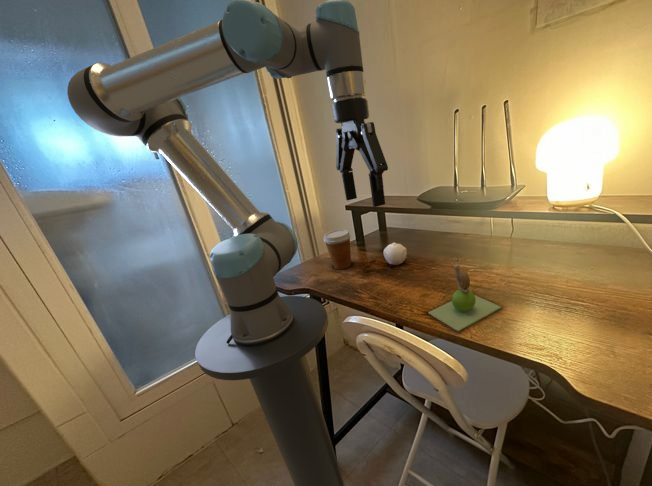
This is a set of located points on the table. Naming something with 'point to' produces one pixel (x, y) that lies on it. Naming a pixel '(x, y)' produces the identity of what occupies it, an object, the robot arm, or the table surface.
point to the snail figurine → (462, 291)
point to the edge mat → (463, 313)
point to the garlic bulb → (395, 253)
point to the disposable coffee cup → (339, 248)
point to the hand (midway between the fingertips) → (364, 202)
